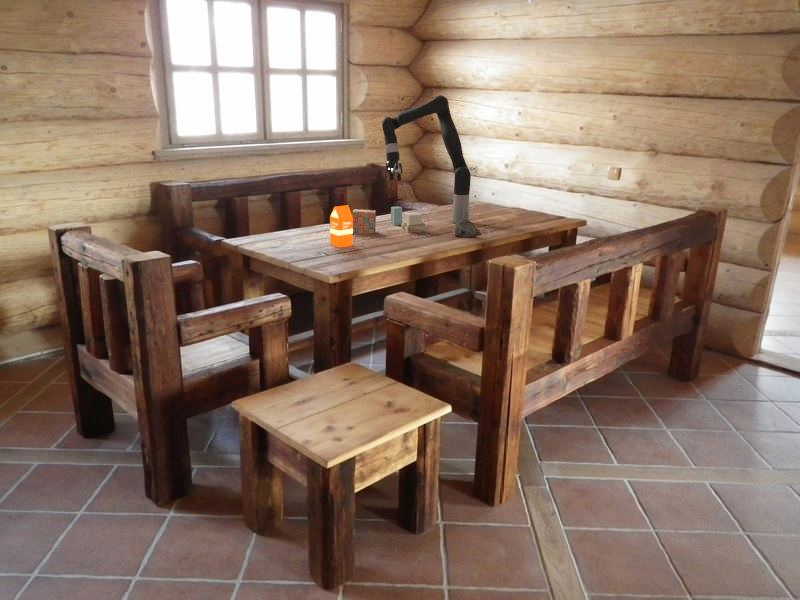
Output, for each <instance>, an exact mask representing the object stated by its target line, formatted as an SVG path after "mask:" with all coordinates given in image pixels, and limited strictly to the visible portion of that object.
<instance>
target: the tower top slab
mask: <svg viewBox="0 0 800 600" xmlns="http://www.w3.org/2000/svg"><path fill="white" fill-rule="evenodd" d="M402 221H403V222H405V223H407V224H420V223H423V214H421V213H419V212H417V211H413V212H412V211H411V212H402Z"/></svg>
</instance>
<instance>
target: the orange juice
mask: <svg viewBox="0 0 800 600" xmlns="http://www.w3.org/2000/svg"><path fill="white" fill-rule="evenodd" d="M349 206H350V205H349V204H347V205H339V206H338V205H337V206H334V207H333V209H332V212H331V214H330V216H329V234H330V236H329V237H330V238H329V241H330V245H331V246H334V247H337V248H343V247H344V248H345V247H349V246H353V245H354V243H353V241H354V240H353V238H354V235H353V234H354V233H353V217H352V212H351V209H350V207H349Z"/></svg>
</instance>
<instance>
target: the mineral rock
mask: <svg viewBox="0 0 800 600" xmlns="http://www.w3.org/2000/svg"><path fill="white" fill-rule="evenodd" d="M481 235H482V233H481V230H480V229H479V228H478V227H476V225H475V224H474V223H473V222H472V221H470V219H469V220H467V219H463V220H458V221H457V224H455V228H454V237H457V236H458V238H459V237H460V238H461V237H462V238H464V237H466V238H472V237H477V236H481Z"/></svg>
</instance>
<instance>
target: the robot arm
mask: <svg viewBox="0 0 800 600" xmlns="http://www.w3.org/2000/svg"><path fill="white" fill-rule="evenodd" d="M435 114H436V117H437V118H438V122H439V126H440V133H441V136H442V137H441V138H442V141H443V144H444V147H445V150H446V151H447V154H448V156H449V158H450V160H451V164H452V167H453V172H454V182H453V183H454V186H453V200H452V201H453V204H452V224H455V225H456V224H457V221H458V220H463V219H467V220H469V221H470V190H471V175H472V174H471V171H470V169H469V167H468V165H467V163H466V160H465V158H464V153H463V146H462V142H461V139H460V136H459V132H458V130H457V126H456V124H455V122H454V120H453V118H452V115H451V110H450V104H449V99H448V98H447V97H446V96H444V95H442V94H441V95H437V96H434V98H433V99H431V100H429V101H428V102H426V103H424V104H421V105H419V106H415V107H412V108H410V109H407V110H404V111H402V112H400V113H398V114H397V115H396V116H393V117H390V116H385V117H383V119H382V121H381V126H382V127H381V128H382V133H383V135H384V145H385V156H386V161H385V167H386V173H388V175H389V180H390V181H394V180H395V176H394V172H395V173H396V179H397V181H398V182H401V181H402V174H404V172H403V164H402V163H401V162H399V161H400V160H401V157H400V150H399V145H398V138H397V134H396V131H395V130H397V129H399V128H400V127H402V126H404V125H405V126H406V125H407V124H410V123H412V122H415V121H416V120H417V121H418V120H419V119H422V118H424V117H426V116H429V115H435Z"/></svg>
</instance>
